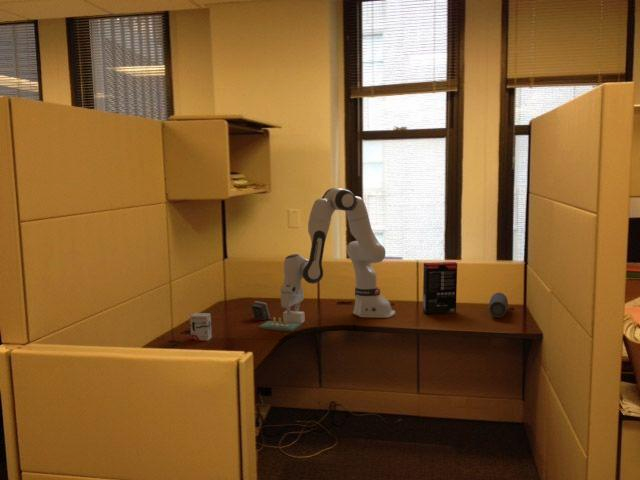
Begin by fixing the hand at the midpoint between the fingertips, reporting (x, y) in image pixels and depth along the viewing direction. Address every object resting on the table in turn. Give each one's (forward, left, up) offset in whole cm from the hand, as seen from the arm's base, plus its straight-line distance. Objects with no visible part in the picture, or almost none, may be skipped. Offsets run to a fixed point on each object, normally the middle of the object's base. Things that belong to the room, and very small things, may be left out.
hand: (292, 312), depth 294 cm
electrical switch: (+19, -1, -5) cm, 20 cm away
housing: (0, -1, -5) cm, 5 cm away
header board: (+2, +11, -5) cm, 12 cm away
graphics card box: (-67, -42, -5) cm, 79 cm away
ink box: (+28, +41, -5) cm, 50 cm away
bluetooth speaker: (-97, -47, -5) cm, 108 cm away
